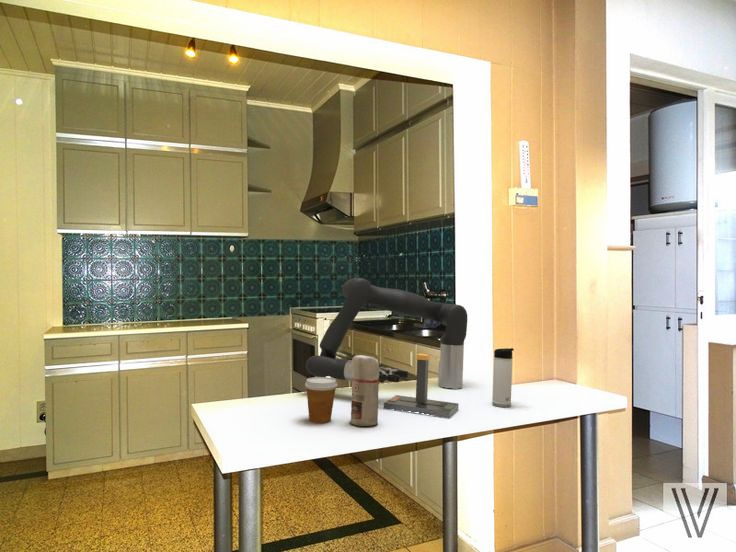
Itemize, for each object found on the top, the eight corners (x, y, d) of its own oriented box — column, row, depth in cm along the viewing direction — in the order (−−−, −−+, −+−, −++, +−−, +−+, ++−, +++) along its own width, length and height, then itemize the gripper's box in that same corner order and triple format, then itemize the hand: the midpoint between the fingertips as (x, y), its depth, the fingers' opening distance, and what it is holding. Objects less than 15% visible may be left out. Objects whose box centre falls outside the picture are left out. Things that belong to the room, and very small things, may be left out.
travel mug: (512, 408, 168) (514, 349, 168) (492, 406, 169) (494, 348, 169) (511, 404, 174) (513, 347, 174) (491, 402, 175) (493, 346, 175)
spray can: (345, 420, 147) (348, 353, 147) (371, 418, 150) (374, 352, 150) (355, 428, 139) (357, 358, 139) (382, 426, 142) (384, 357, 142)
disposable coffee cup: (297, 419, 146) (298, 379, 146) (322, 414, 152) (323, 375, 152) (317, 427, 139) (318, 384, 139) (342, 421, 146) (344, 380, 146)
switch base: (383, 408, 161) (383, 401, 161) (396, 400, 172) (396, 394, 172) (449, 418, 153) (449, 411, 153) (458, 409, 164) (458, 403, 164)
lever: (414, 401, 162) (416, 354, 162) (418, 399, 165) (419, 353, 165) (424, 403, 160) (426, 355, 160) (427, 401, 163) (429, 354, 164)
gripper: (351, 363, 165) (396, 368, 159) (368, 358, 178) (411, 362, 172) (350, 386, 165) (395, 392, 159) (367, 378, 178) (410, 384, 172)
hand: (403, 376), depth 165 cm, fingers open, 8 cm apart
